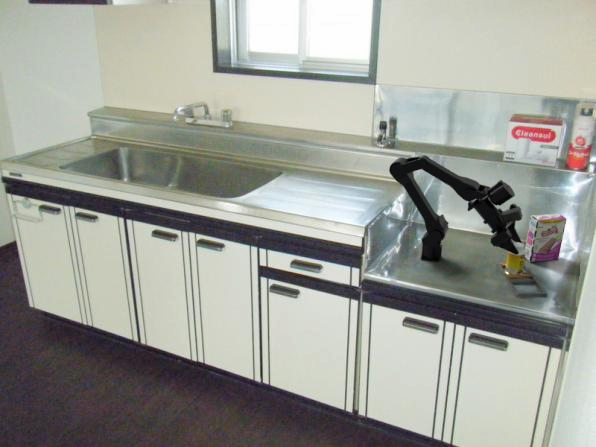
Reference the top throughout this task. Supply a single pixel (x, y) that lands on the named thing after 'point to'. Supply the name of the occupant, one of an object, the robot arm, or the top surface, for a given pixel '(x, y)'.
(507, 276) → the rack
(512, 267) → the supplement bottle
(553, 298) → the top surface
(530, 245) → the candy bar box
